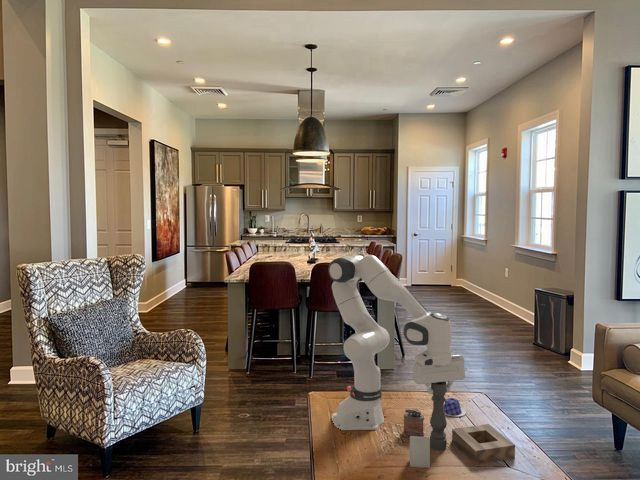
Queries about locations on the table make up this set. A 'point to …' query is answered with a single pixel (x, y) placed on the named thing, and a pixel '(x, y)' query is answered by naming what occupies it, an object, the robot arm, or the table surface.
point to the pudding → (453, 407)
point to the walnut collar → (483, 444)
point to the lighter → (413, 423)
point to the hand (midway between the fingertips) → (438, 392)
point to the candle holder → (438, 417)
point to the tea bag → (419, 451)
